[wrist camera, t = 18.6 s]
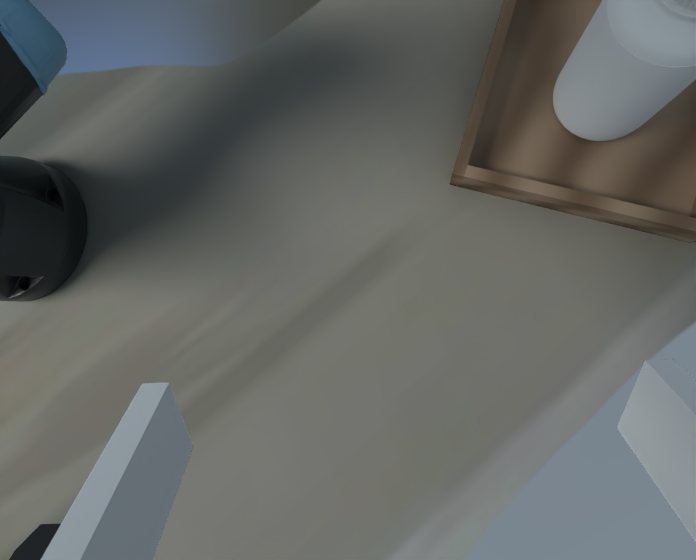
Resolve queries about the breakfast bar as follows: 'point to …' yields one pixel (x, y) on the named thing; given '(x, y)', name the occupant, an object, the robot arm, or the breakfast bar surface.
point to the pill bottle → (626, 67)
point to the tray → (563, 146)
